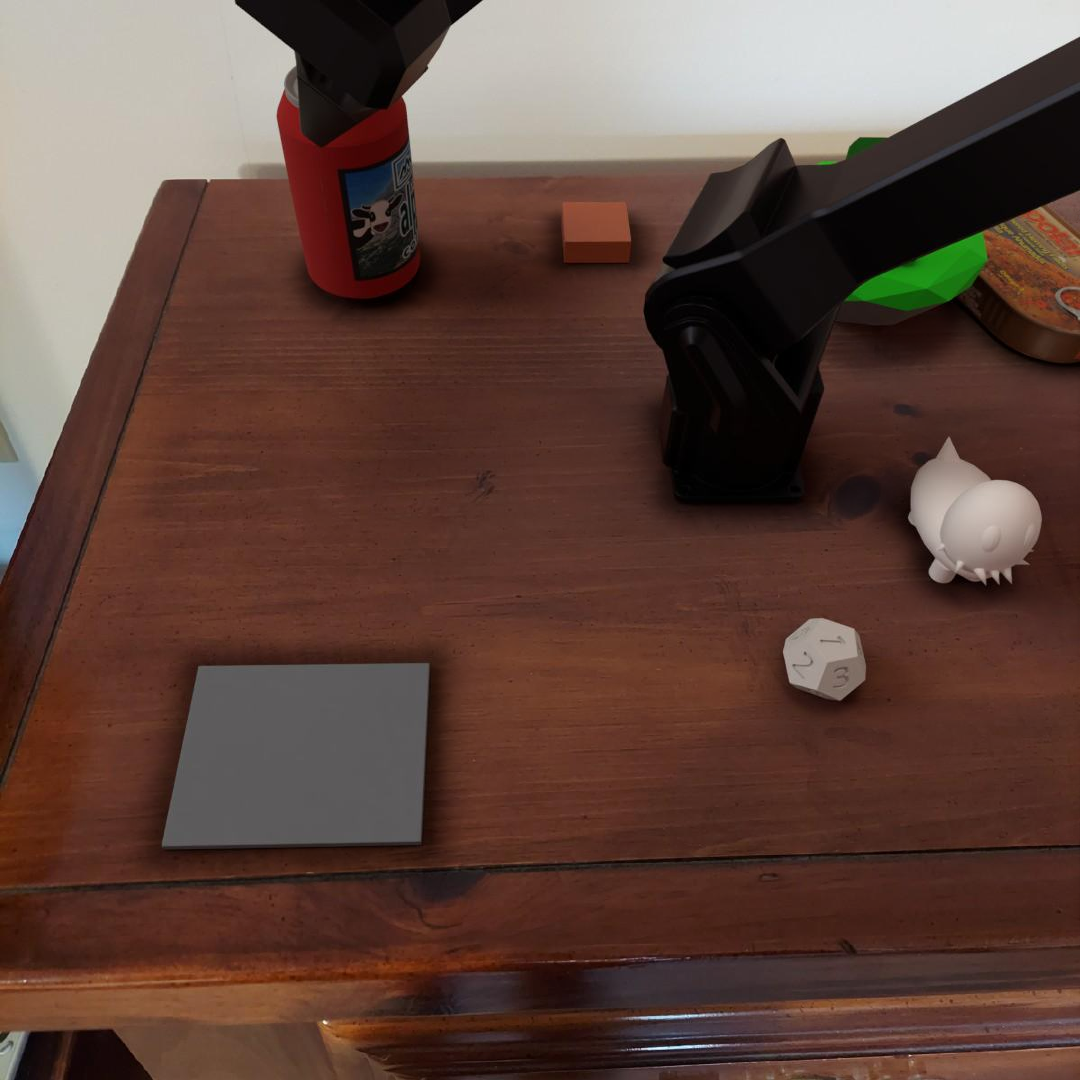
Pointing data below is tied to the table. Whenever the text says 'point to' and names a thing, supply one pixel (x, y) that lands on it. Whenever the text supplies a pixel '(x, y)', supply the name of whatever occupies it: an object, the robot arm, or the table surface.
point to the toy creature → (972, 519)
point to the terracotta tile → (595, 232)
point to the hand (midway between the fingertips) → (367, 85)
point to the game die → (825, 659)
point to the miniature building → (913, 277)
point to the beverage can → (353, 200)
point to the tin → (1031, 286)
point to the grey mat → (302, 757)
